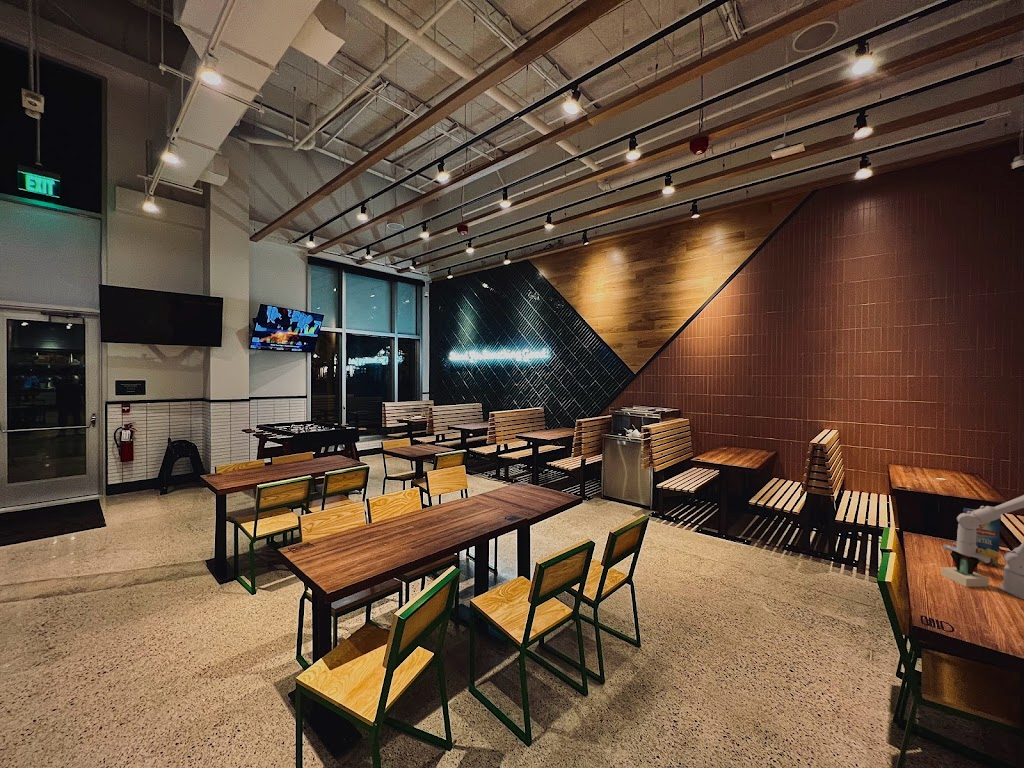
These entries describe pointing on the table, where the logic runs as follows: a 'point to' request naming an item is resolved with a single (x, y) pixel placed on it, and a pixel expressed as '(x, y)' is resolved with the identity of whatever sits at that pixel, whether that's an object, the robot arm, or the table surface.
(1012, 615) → the table surface
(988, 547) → the juice carton
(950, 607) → the table surface
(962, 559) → the peg
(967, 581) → the socket block
